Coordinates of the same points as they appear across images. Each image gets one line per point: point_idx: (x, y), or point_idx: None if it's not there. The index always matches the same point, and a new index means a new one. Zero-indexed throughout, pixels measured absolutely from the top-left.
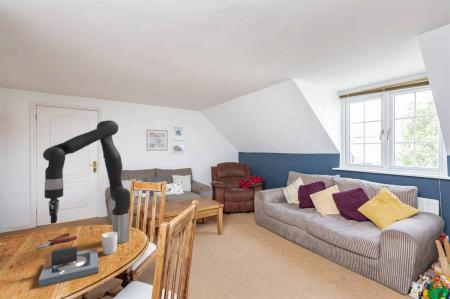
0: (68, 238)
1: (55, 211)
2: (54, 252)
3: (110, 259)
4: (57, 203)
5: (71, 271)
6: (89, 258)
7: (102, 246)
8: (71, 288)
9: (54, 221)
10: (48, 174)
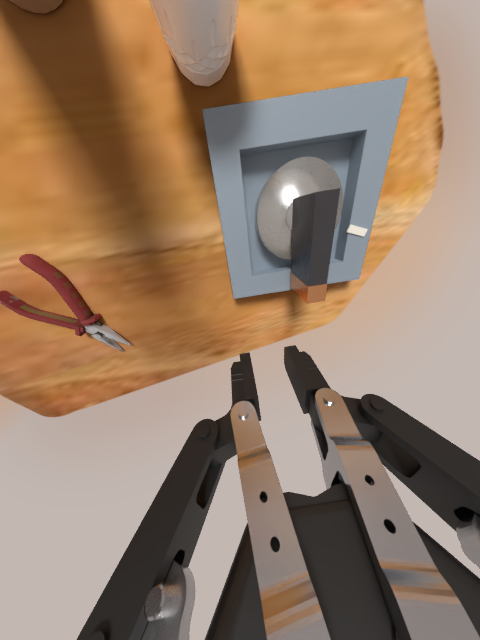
0: (55, 282)
1: (443, 440)
2: (327, 274)
3: (291, 26)
4: (467, 632)
5: (369, 200)
6: (250, 156)
7: (204, 63)
8: (413, 189)
9: (309, 358)
10: None
